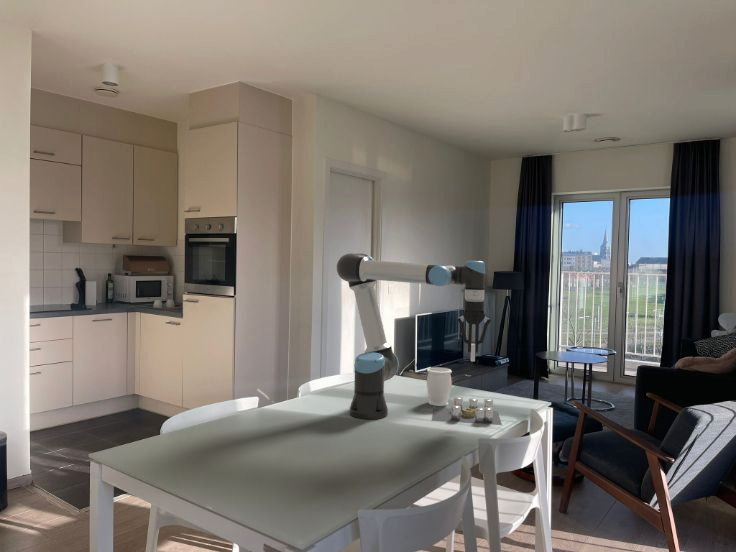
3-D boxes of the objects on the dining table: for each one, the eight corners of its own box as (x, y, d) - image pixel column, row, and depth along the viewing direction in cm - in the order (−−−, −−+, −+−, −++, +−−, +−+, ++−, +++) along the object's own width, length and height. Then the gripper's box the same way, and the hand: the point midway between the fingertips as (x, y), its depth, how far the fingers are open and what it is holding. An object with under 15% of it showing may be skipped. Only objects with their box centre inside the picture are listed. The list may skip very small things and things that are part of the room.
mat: (431, 422, 216) (431, 420, 216) (433, 408, 235) (433, 407, 235) (501, 426, 212) (501, 424, 212) (497, 412, 231) (497, 411, 231)
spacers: (450, 421, 215) (451, 408, 215) (450, 408, 234) (451, 396, 234) (495, 424, 213) (496, 411, 213) (492, 411, 231) (492, 398, 231)
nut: (464, 417, 221) (465, 411, 221) (461, 414, 226) (461, 407, 226) (475, 417, 221) (476, 411, 221) (471, 414, 226) (472, 407, 226)
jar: (452, 408, 237) (453, 372, 236) (427, 407, 237) (428, 371, 236) (449, 401, 247) (450, 367, 247) (425, 401, 247) (426, 366, 247)
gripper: (457, 300, 219) (455, 361, 220) (492, 301, 217) (490, 363, 218) (457, 299, 226) (455, 358, 227) (490, 300, 225) (489, 359, 225)
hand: (472, 360), depth 223 cm, fingers closed
